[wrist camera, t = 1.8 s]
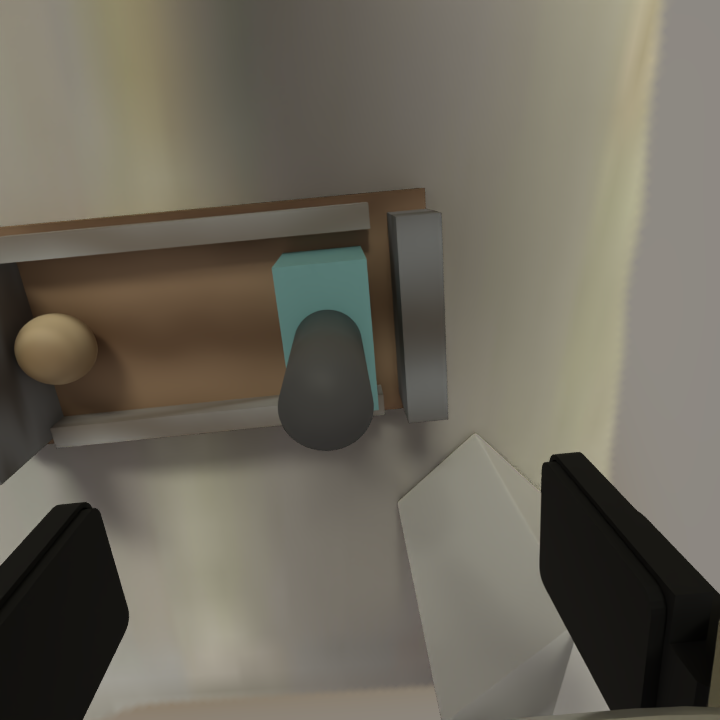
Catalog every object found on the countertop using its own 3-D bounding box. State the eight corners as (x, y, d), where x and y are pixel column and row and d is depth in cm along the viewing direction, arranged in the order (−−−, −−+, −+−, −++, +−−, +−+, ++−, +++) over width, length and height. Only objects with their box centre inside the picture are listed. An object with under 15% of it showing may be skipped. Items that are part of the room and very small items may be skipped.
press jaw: (282, 253, 26) (243, 305, 15) (360, 245, 26) (381, 291, 15) (300, 379, 28) (277, 509, 17) (371, 372, 28) (396, 496, 17)
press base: (-48, 231, 27) (-195, 249, 19) (418, 188, 28) (450, 188, 20) (21, 432, 31) (-79, 512, 23) (428, 391, 31) (458, 456, 24)
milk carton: (473, 430, 32) (647, 730, 15) (543, 493, 34) (773, 830, 16) (395, 500, 34) (465, 853, 16) (466, 558, 36) (600, 933, 18)
